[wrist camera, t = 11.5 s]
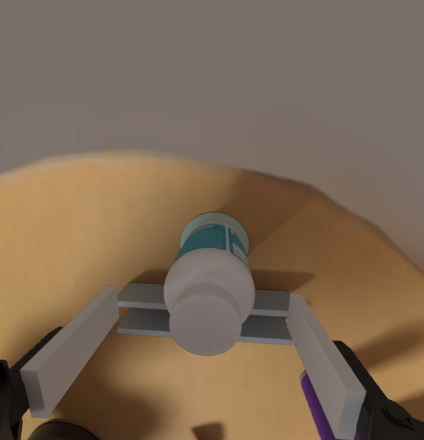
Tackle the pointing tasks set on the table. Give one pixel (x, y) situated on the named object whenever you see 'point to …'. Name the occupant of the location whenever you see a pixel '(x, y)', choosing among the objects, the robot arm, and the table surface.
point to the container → (318, 410)
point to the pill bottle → (209, 290)
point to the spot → (216, 217)
